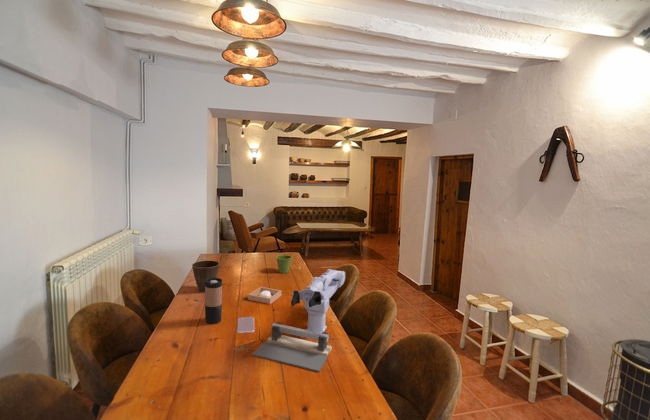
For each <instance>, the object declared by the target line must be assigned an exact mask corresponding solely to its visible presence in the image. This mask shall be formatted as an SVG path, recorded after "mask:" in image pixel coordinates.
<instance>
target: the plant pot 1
mask: <svg viewBox="0 0 650 420" xmlns="http://www.w3.org/2000/svg"><path fill="white" fill-rule="evenodd" d="M191 265H192V273H193V277H194V280H195V284H196V286H197V288H198V290H199V292H201V293H205V281H206V280H207V279H210V278H218V273H219V267H220V262H219V261H216V260H201V261H195V262H194V263H192V264H191Z"/></svg>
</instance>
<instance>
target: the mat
mask: <svg viewBox="0 0 650 420" xmlns="http://www.w3.org/2000/svg"><path fill="white" fill-rule="evenodd" d="M251 355H252V356H254V357H257V358H262V359H266V360H270V361H272V362H278V363H282V364H285V365H289V366H294V367H298V368H301V369H305V370H309V371H312V372H317V373H320V372H321V370H322V369H323V366H324V365H325V363H326V362H327V360H328V356H323V355H319V354H315V353H311V352H306V351H302V350H298V349H294V348H289V347H285V346H281V345H277V344H272V343H268V342H267V341H264V342H263V343H262V344H261V345H260V346H259V347H258V348H257V349H256V350H254V352H253V353H252V354H251Z"/></svg>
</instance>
